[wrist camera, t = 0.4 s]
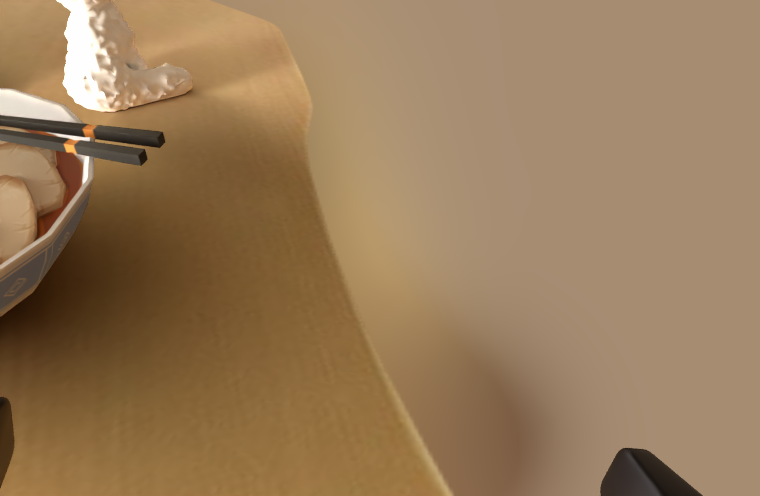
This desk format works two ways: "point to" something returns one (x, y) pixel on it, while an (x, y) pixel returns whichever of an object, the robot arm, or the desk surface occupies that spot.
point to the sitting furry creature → (112, 62)
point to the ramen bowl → (48, 183)
